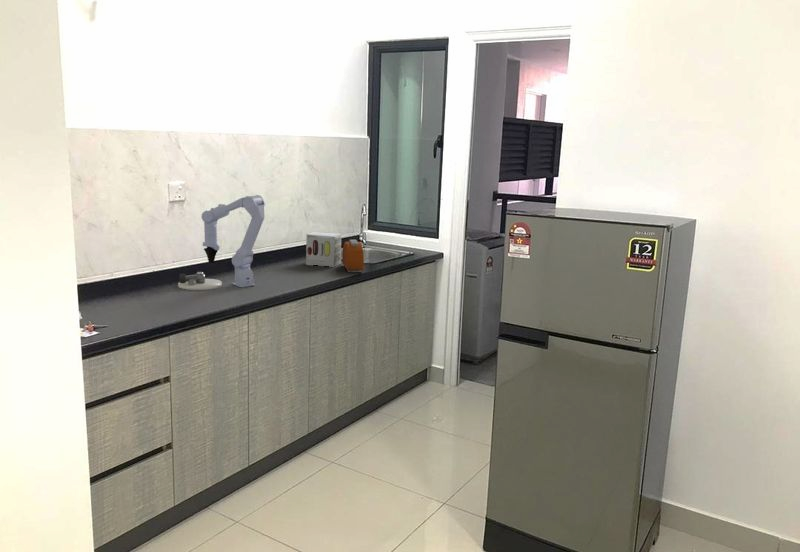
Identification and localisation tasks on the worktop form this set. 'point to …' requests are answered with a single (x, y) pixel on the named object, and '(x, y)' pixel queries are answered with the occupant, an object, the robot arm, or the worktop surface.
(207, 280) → the base
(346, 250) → the orange plastic container
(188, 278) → the latch lever
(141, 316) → the worktop surface
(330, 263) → the supplement box
